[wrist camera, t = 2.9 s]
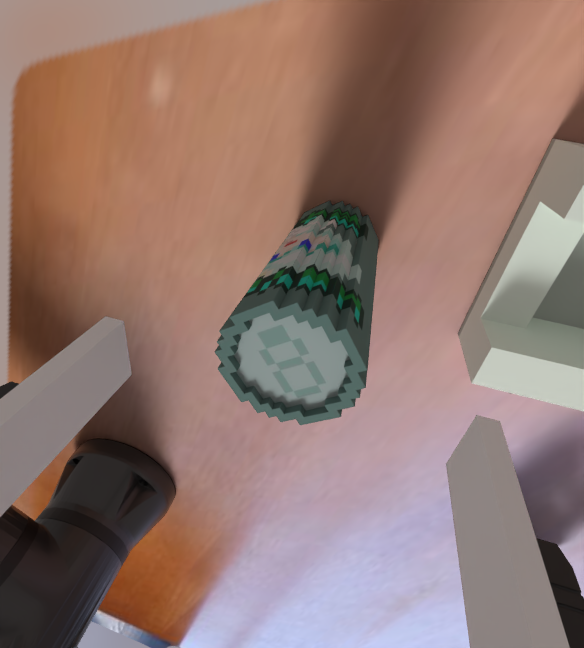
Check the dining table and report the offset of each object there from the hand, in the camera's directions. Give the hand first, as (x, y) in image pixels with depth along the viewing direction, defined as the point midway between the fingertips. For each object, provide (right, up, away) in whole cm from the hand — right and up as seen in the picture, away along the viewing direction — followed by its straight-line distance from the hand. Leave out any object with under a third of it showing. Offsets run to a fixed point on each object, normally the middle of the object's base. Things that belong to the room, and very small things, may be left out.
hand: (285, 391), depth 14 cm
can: (+4, +9, +14) cm, 17 cm away
